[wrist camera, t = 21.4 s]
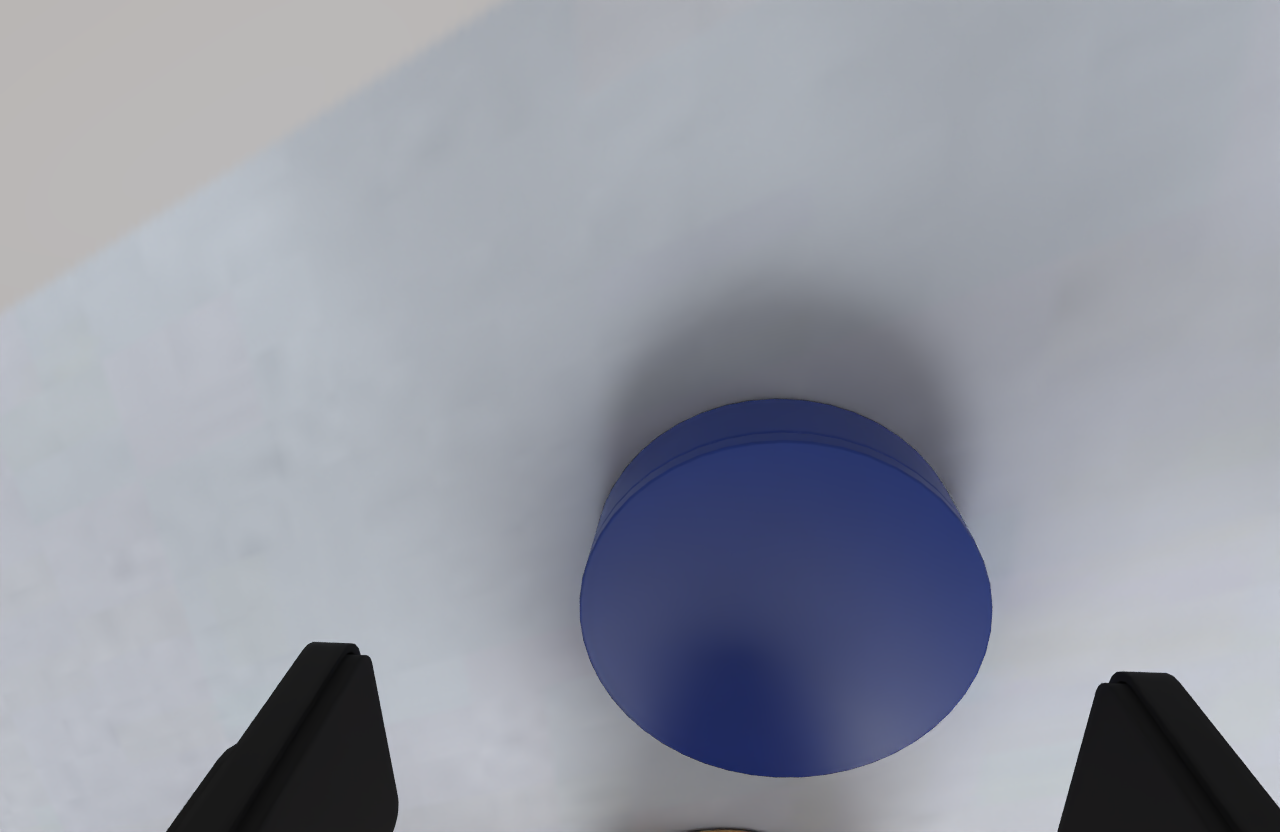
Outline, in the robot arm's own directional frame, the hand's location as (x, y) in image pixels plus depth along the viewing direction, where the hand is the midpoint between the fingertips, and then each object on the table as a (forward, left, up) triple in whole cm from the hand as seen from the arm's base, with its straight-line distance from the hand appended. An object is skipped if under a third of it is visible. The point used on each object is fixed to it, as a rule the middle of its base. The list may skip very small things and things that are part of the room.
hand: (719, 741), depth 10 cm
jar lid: (+1, 0, -4) cm, 4 cm away
